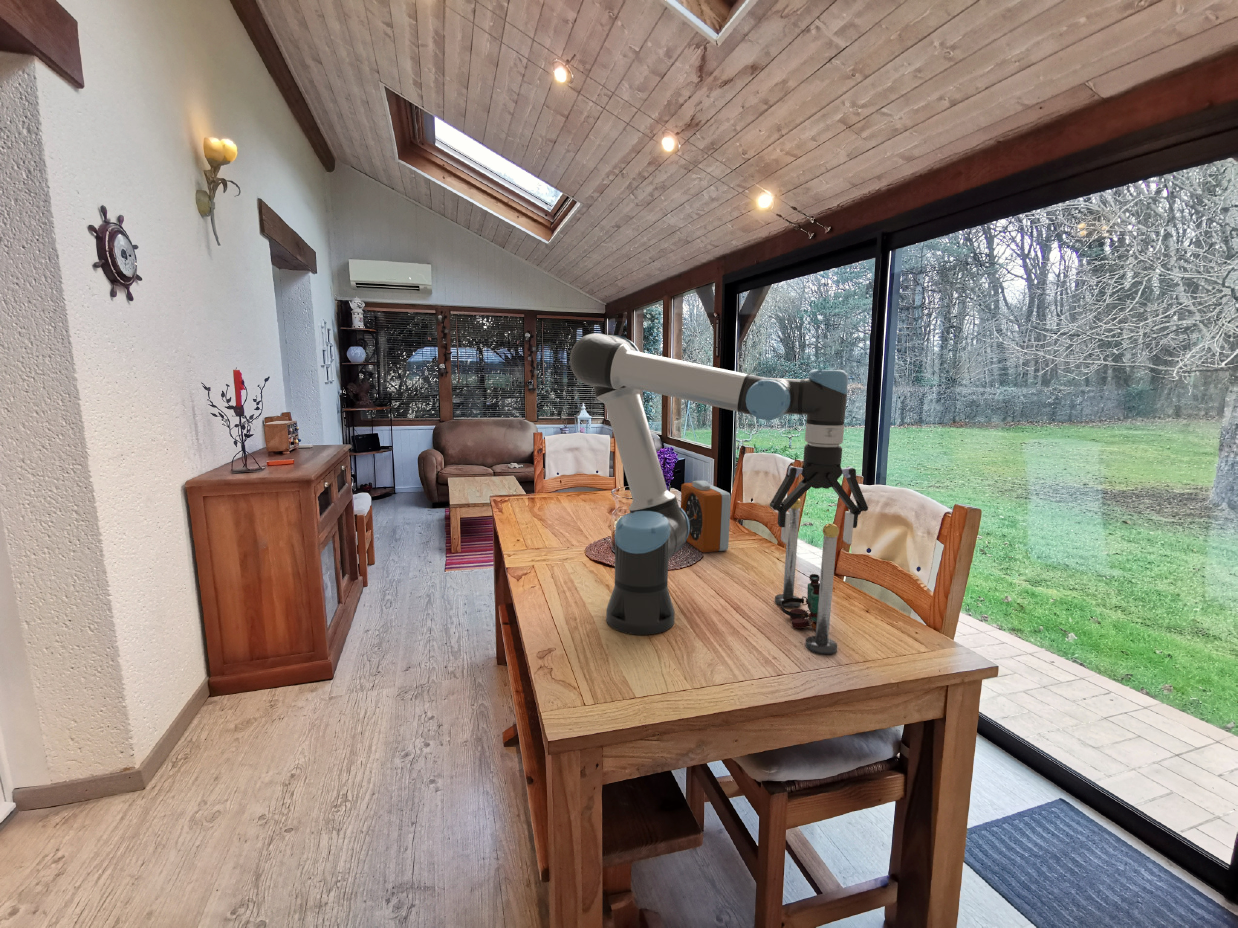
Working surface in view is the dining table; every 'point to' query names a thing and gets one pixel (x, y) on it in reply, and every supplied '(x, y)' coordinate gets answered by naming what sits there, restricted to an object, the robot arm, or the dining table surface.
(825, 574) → the post near
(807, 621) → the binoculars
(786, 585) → the post far
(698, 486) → the alarm clock
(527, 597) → the dining table surface
